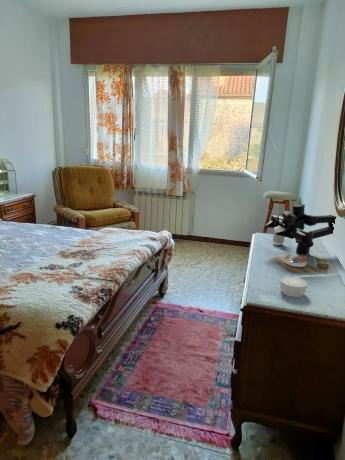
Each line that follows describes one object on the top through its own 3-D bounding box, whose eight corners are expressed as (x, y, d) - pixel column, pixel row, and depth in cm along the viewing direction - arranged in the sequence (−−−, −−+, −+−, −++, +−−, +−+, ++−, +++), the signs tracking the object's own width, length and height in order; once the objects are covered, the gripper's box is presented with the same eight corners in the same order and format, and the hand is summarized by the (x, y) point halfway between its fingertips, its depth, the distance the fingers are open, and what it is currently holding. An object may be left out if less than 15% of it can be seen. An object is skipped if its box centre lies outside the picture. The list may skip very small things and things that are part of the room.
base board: (297, 258, 182) (297, 256, 181) (323, 273, 161) (323, 271, 161) (268, 259, 177) (268, 257, 177) (291, 275, 157) (291, 273, 157)
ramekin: (273, 289, 141) (274, 278, 140) (292, 285, 146) (294, 274, 144) (291, 300, 131) (293, 288, 130) (311, 296, 136) (313, 285, 134)
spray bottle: (271, 244, 204) (275, 217, 200) (273, 242, 210) (277, 215, 205) (282, 246, 201) (286, 218, 197) (284, 244, 207) (288, 216, 202)
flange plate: (297, 269, 162) (298, 262, 161) (279, 262, 170) (280, 255, 169) (313, 264, 169) (315, 257, 168) (296, 258, 178) (296, 251, 177)
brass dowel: (287, 259, 177) (288, 253, 176) (289, 260, 175) (290, 254, 174) (284, 259, 176) (285, 254, 175) (286, 260, 175) (287, 255, 174)
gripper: (284, 204, 183) (261, 210, 178) (307, 217, 168) (283, 224, 163) (282, 221, 189) (259, 227, 184) (304, 236, 173) (280, 242, 169)
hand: (270, 229), depth 175 cm, fingers open, 9 cm apart
